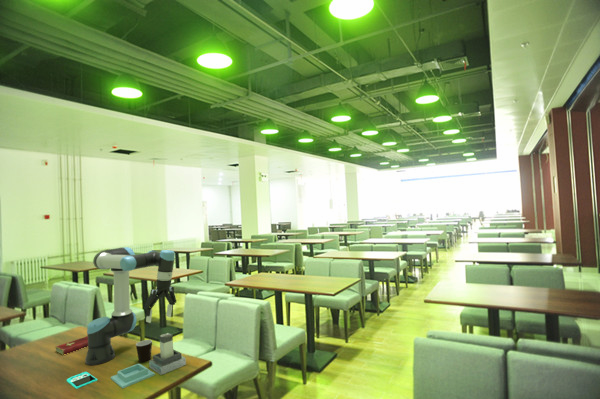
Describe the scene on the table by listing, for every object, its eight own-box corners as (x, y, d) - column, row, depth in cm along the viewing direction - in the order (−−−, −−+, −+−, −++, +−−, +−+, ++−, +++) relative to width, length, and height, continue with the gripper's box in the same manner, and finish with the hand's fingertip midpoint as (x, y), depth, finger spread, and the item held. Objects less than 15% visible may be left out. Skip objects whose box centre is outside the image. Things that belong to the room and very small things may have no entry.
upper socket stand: (149, 367, 188) (148, 355, 188) (173, 358, 198) (172, 347, 198) (161, 375, 178) (160, 362, 178) (185, 364, 188) (185, 352, 189)
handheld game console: (86, 373, 187) (86, 370, 187) (98, 381, 177) (98, 378, 177) (65, 381, 180) (65, 378, 180) (76, 390, 169) (76, 387, 169)
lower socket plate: (110, 378, 178) (110, 372, 178) (141, 366, 189) (141, 360, 190) (122, 388, 167) (122, 381, 167) (154, 375, 179) (154, 368, 179)
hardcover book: (98, 343, 230) (98, 337, 230) (63, 356, 212) (62, 349, 212) (90, 340, 236) (89, 334, 236) (55, 352, 219) (54, 346, 219)
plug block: (160, 359, 188) (159, 335, 188) (169, 356, 192) (168, 332, 192) (165, 361, 185) (163, 337, 185) (173, 358, 188) (172, 334, 188)
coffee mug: (146, 363, 193) (145, 346, 193) (133, 363, 194) (132, 345, 195) (159, 354, 204) (158, 338, 204) (146, 354, 206) (145, 337, 206)
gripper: (150, 283, 171) (144, 326, 169) (186, 278, 193) (181, 316, 192) (139, 280, 174) (133, 322, 173) (176, 275, 196) (171, 313, 195)
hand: (158, 319), depth 182 cm, fingers open, 13 cm apart
